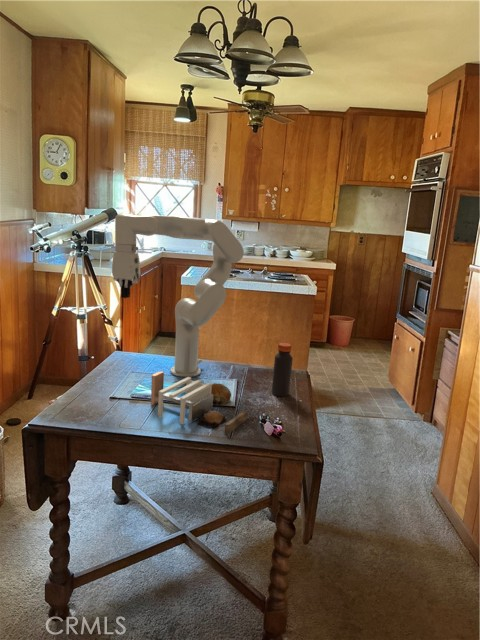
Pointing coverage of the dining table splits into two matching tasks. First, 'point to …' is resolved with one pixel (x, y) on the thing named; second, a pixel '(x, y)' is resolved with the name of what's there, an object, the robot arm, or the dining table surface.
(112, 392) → the dining table surface
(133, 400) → the dining table surface
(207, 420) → the bread roll
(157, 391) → the rod with wooden block
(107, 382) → the dining table surface
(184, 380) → the white slatted rack
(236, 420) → the bar
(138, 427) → the dining table surface
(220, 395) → the bread roll
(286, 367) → the bottle
